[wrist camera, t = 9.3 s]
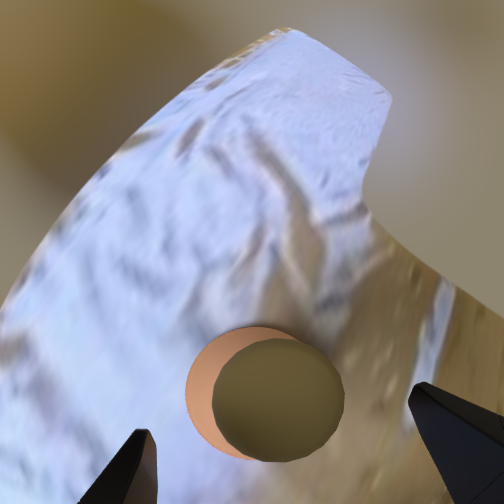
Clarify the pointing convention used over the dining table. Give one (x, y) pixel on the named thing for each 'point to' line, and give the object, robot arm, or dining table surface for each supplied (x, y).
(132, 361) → the dining table surface
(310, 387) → the cork
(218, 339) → the peach round disc
